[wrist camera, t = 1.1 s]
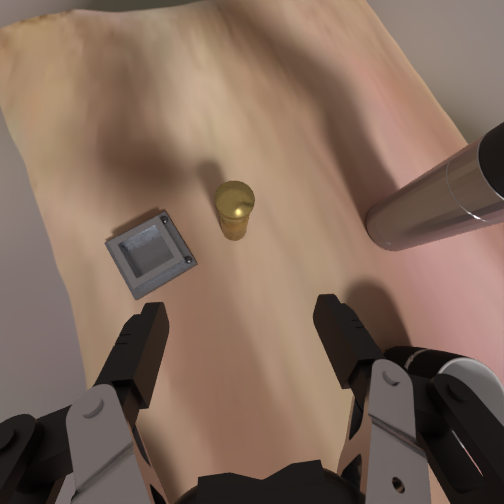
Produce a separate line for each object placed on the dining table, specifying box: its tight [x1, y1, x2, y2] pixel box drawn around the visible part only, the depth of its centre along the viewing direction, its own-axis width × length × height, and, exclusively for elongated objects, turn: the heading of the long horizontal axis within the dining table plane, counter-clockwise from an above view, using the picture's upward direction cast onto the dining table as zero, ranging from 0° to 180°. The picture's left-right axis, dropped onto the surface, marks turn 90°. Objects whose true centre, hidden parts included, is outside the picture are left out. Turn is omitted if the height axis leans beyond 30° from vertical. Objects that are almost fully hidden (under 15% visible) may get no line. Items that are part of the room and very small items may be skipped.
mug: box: [383, 346, 504, 449], centre depth 27 cm, size 12×9×10 cm
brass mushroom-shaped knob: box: [215, 181, 255, 241], centre depth 29 cm, size 5×5×11 cm
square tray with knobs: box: [105, 212, 198, 300], centre depth 31 cm, size 10×10×3 cm
